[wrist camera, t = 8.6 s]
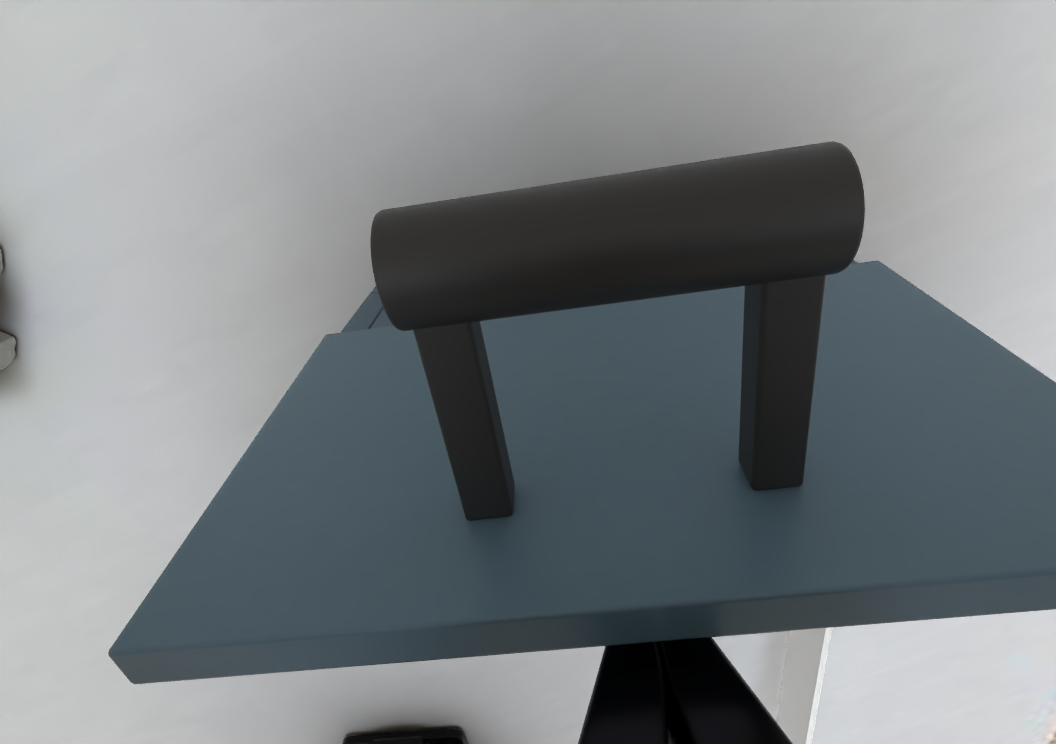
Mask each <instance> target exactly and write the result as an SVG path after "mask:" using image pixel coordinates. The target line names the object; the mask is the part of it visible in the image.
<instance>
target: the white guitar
mask: <svg viewBox="0 0 1056 744" xmlns="http://www.w3.org/2000/svg"><path fill="white" fill-rule="evenodd" d="M831 633H832V627H830V628H818V629H806V630H793V631H789V635H788V642H787V649H786V656H785V663H784V670H783V677H782V684H781V691H780V698H779V705H778V712H777V719H776V722H777V724H778V725H779V726H780V728H781V729H782V730H783V731H784V733H785V734H786V735H787V737H788V738H789V739H790V741H791V742H792V743H793V744H811V743H812V738H813V732H814V727H815V721H816V716H817V710H818V705H819V699H820V694H821V688H822V682H823V677H824V671H825V666H826V660H827V655H828V649H829V644H830V638H831Z"/></svg>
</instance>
